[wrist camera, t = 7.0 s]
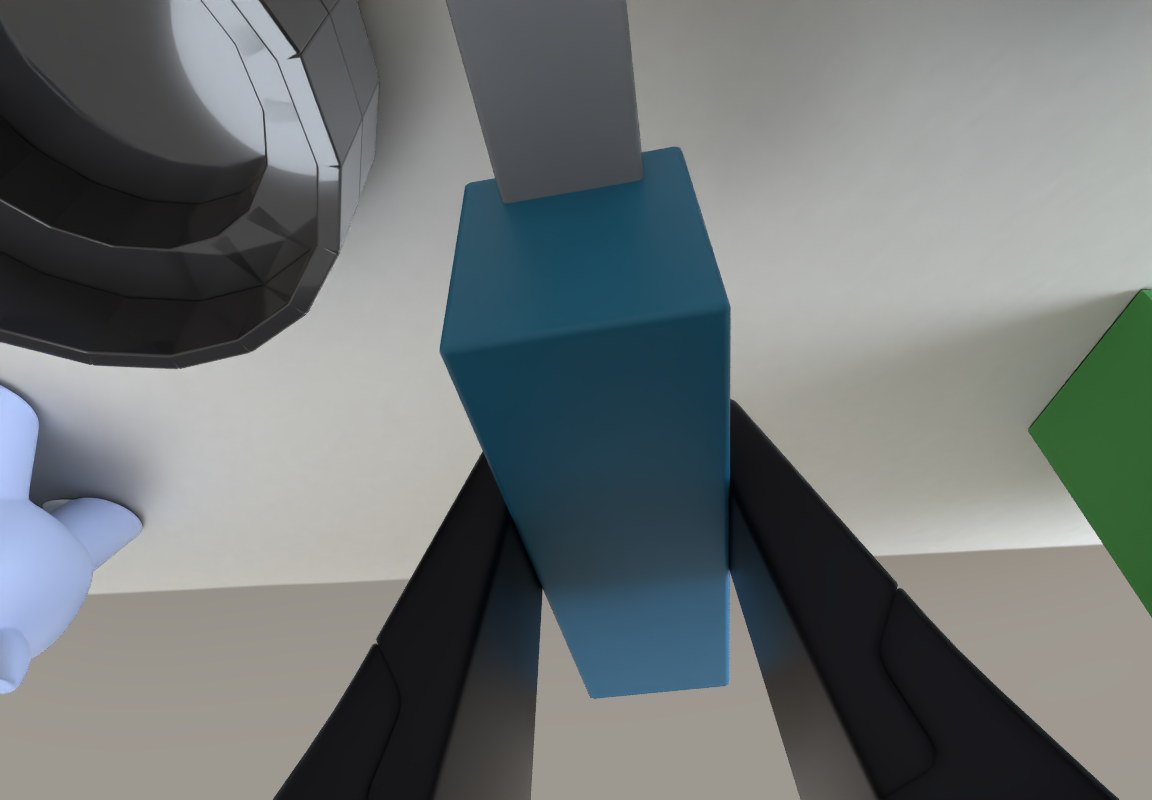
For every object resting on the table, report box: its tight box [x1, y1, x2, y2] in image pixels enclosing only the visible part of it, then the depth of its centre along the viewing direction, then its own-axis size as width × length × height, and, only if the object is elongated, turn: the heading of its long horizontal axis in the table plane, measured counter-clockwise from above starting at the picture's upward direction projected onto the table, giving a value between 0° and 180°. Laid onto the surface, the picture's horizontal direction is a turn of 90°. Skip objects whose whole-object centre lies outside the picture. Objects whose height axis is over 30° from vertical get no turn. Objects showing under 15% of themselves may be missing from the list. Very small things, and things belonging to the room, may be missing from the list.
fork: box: [440, 0, 730, 699], centre depth 8 cm, size 16×3×3 cm, turn 10°
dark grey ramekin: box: [0, 0, 379, 369], centre depth 14 cm, size 12×12×5 cm
